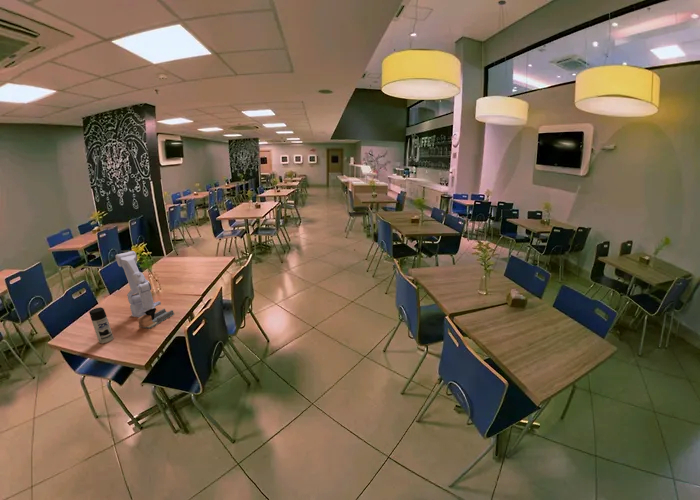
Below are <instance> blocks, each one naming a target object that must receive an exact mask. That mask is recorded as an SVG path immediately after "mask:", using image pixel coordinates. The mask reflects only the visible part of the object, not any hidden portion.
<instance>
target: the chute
mask: <svg viewBox="0 0 700 500" xmlns="http://www.w3.org/2000/svg"><path fill="white" fill-rule="evenodd" d="M173 316H175V312H174V310H173V309H171V310H169V311H167V310H166V308H162V309H160V310H159V311H157V312H155V316H154V320H152V321H153V324H151V325H149V326H147V327H141V326H139V325H138V327H139V328H144V329H149V330H150V329H152V328H153V327H156V326H158V325H159V324H161V323H163V322H164V321H165V320H168V319H169V318H170V317H173Z"/></svg>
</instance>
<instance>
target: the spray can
mask: <svg viewBox="0 0 700 500" xmlns="http://www.w3.org/2000/svg"><path fill="white" fill-rule="evenodd" d="M88 313H89V316H90V319H91V323H92V325H93V329H94V330H95V335H96V337H97V341H98V343H99V344H107V343H109V342H112V341H113V340H114V335H113V331H112V328H111V325H110V323H109V318H108V316H107V313H106V311H105V308H103V307H101V306H100V307H96V308H93V309H90V310H89V312H88Z"/></svg>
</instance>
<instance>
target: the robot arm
mask: <svg viewBox="0 0 700 500" xmlns="http://www.w3.org/2000/svg"><path fill="white" fill-rule="evenodd" d="M137 259H138V255H137V254H136V251H134V250H131V251H126V252H122V253H119V254H118V253H117V254H115V260H116V263H117V265H118V267H119V268H122V269H123V271H124V274H125V277H126V279H127V282H128V286H129V289H130V291H129V292H127V295H126V296H127V301H128V303H129V304H130V305H129V306H130V307H129V308H130V311H131V312H130V313H131V315H130V317H135V318H139V317H141V316H143V315H150V316H151V318H152V320H154V316H155V313H156V311H157V308H156V307H158V306H161V305H162V303H161V301H156V302H154V299H153V294H152V291H151V290H152V285H151V282H150V281H149V280H147V279H146V276H145V275H144V273H143V272H141V271H140V270H139V268H138V264H137Z"/></svg>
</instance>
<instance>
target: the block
mask: <svg viewBox="0 0 700 500" xmlns="http://www.w3.org/2000/svg"><path fill="white" fill-rule="evenodd" d="M136 318H137V322H138V327H139V326H141V327H140V328H143V327H147V326H149V325H151V324H153V321H152V318H151V316H150V315H143V316H141V317H136Z"/></svg>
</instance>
